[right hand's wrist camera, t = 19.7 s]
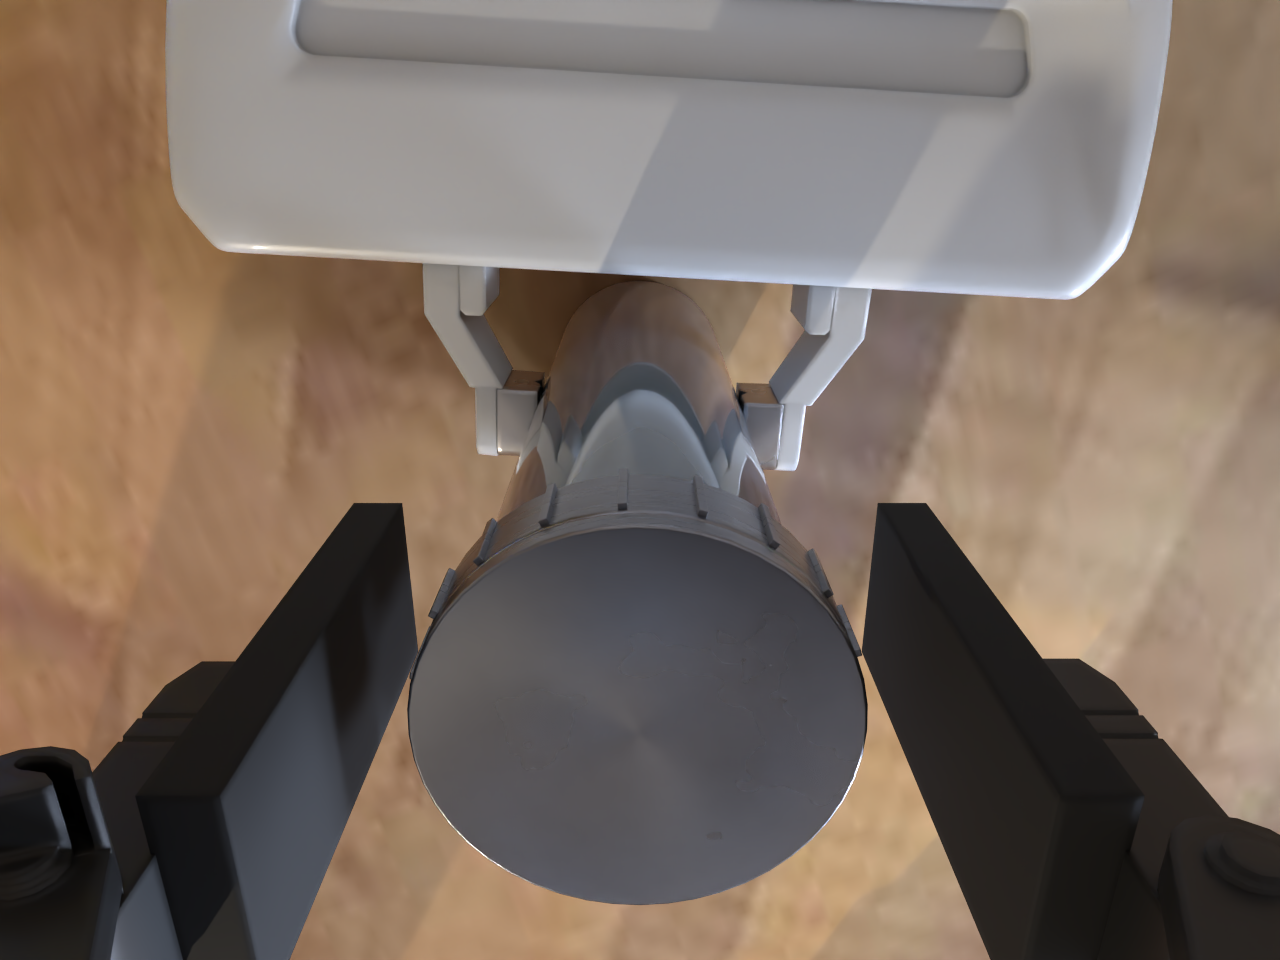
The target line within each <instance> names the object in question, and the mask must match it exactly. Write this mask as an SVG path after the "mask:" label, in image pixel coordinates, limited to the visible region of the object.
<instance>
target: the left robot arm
mask: <svg viewBox="0 0 1280 960" xmlns="http://www.w3.org/2000/svg"><path fill="white" fill-rule="evenodd" d="M1172 2H1173V0H167V3H166V40H165V64H166V109H167V131H168V145H169V159H170V170H171V179H172V186H173V190H174V194H175V197H176V200H177V202H178V204H179V205H180V207H181V208H182V209H183V211H184V212H185V213H186V214H187V216H188V217H189V218H190V219H191V220H192V222H193V223H194V224H195V225H196V226H197V228H198V229H199V230H200V231H201V232H202V234H203V235H204V236H205V237H206V238H207V239H208V240H209V241H210V242H211V243H212V245H213V246H215V247H216V248H218V249H220V250H222V251H227V252H238V253H254V254H271V255H289V256H306V257H324V258H341V259H359V260H376V261H394V262H412V263H423V289H424V314H425V316H426V317H427V319H428V320H429V322H430V324H431V325H432V327H433V328H434V330H435V332H436V333H437V335H438V337H439V338H440V340H441V341H442V343H443V345H444V346H445V348H446V349H447V351H448V353H449V354H450V356H451V358H452V359H453V361H454V362H455V364H456V366H457V367H458V369H459V370H460V372H461V374H462V375H463V377H464V378H465V380H466V382H467V383H468V385H469V387H474V388H475V405H476V447H477V451H478V454H485V455H495V456H498V455H515V456H520V453H521V450H522V448H523V445H524V442H525V439H526V436H527V434H528V431H529V428H530V425H531V423H532V420H533V417H534V414H535V411H536V409H537V406H538V403H539V400H540V398H541V395H542V392H543V389H544V387H545V372H533V371H520V370H512V369H513V368H512V366H511V364H510V362H509V360H508V359H507V357H506V355H505V353H504V351H503V349H502V348H501V346H500V344H499V342H498V340H497V338H496V337H495V335H494V333H493V331H492V329H491V327H490V326H489V324H488V322H487V320H486V318H485V316H484V314H483V313H484V312H485V311H486V310H487V309H488V308H489V306H490V305H491V304H492V303H493V302H494V300H495V299H496V298H497V297H498V296H499V270H500V268H517V269H534V270H552V271H569V272H587V273H604V274H622V275H640V276H657V277H675V278H692V279H710V280H727V281H745V282H762V283H780V284H793V291H792V301H791V312H792V314H793V315H794V316H795V317H796V319H797V320H798V321H799V323H800V324H801V325H802V327H803V328H804V329H805V331H804V332H803V334H802V335H801V337H800V338H799V339H798V341H797V342H796V344H795V345H794V347H793V348H792V349H791V351H790V352H789V354H788V355H787V357H786V358H785V359H784V361H783V362H782V364H781V365H780V367H779V368H778V369H777V371H776V372H775V374H774V375H773V377H772V378H771V379H770V381H769V384H755V383H737V387H736V396H737V398H738V401H739V404H740V407H741V410H742V413H743V416H744V419H745V421H746V424H747V427H748V430H749V433H750V436H751V439H752V441H753V444H754V447H755V450H756V453H757V456H758V459H759V461H760V464H761V467H762V469H767V470H786V471H794V470H795V469H796V467H797V464H798V461H799V454H800V446H801V438H802V431H803V423H804V416H805V408H806V406H811V405H812V404H813V403H814V401H815V400H816V399H817V398H818V396H819V395H820V394H821V393H822V391H823V390H824V389H825V388H826V386H827V385H828V384H829V383H830V381H831V380H832V379H833V377H834V376H835V375H836V374H837V372H838V371H839V370H840V369H841V367H842V366H843V365H844V364H845V362H846V361H847V360H848V359H849V357H850V356H851V355H852V354H853V352H854V351H855V350H856V348H857V347H858V346H859V345H860V343H861V342H862V341H863V340H864V336H865V330H866V323H867V317H868V311H869V304H870V298H871V292H872V289H885V290H903V291H920V292H938V293H955V294H973V295H990V296H1008V297H1025V298H1043V299H1062V300H1068V299H1073V298H1076V297H1078V296H1080V295H1081V294H1083V293H1084V292H1085V291H1086V290H1087V289H1088V288H1090V287H1091V286H1092V285H1093V284H1094V283H1095V282H1096V281H1097V280H1098V279H1099V278H1100V277H1101V276H1102V275H1103V274H1104V273H1105V272H1106V271H1107V270H1108V269H1109V268H1110V267H1111V266H1112V265H1113V264H1114V263H1115V262H1116V261H1117V260H1118V259H1119V258H1120V257H1121V255H1122V254H1123V252H1124V251H1125V249H1126V247H1127V244H1128V242H1129V239H1130V237H1131V234H1132V231H1133V227H1134V224H1135V221H1136V217H1137V213H1138V209H1139V205H1140V201H1141V197H1142V193H1143V189H1144V184H1145V180H1146V176H1147V171H1148V167H1149V162H1150V157H1151V152H1152V147H1153V142H1154V137H1155V132H1156V127H1157V121H1158V115H1159V109H1160V103H1161V97H1162V91H1163V84H1164V77H1165V70H1166V63H1167V56H1168V48H1169V40H1170V31H1171V22H1172Z"/></svg>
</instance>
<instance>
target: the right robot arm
mask: <svg viewBox="0 0 1280 960" xmlns="http://www.w3.org/2000/svg"><path fill="white" fill-rule="evenodd" d="M417 653H418V645H417V636H416V627H415V618H414V609H413V599H412V590H411V581H410V572H409V562H408V553H407V544H406V535H405V526H404V516H403V507H402V503H354V504H353V505H352V506H351V508H350V509H349V510H348V512H347V513H346V514H345V516H344V517H343V519H342V520H341V521H340V523H339V524H338V525H337V527H336V528H335V529H334V531H333V532H332V533H331V535H330V536H329V537H328V539H327V540H326V541H325V543H324V544H323V545H322V547H321V548H320V549H319V551H318V552H317V553H316V555H315V556H314V557H313V559H312V560H311V561H310V563H309V564H308V565H307V567H306V568H305V569H304V571H303V572H302V573H301V575H300V576H299V577H298V579H297V580H296V581H295V583H294V584H293V585H292V587H291V588H290V589H289V591H288V592H287V593H286V595H285V596H284V597H283V599H282V600H281V601H280V603H279V604H278V605H277V607H276V608H275V609H274V611H273V612H272V613H271V615H270V616H269V617H268V619H267V620H266V621H265V623H264V624H263V625H262V627H261V628H260V630H259V631H258V632H257V634H256V635H255V636H254V638H253V639H252V640H251V642H250V643H249V644H248V646H247V647H246V648H245V650H244V651H243V652H242V654H241V655H240V656H239V658H238V659H237V660H236V662H200V663H199V664H197V665H196V666H194V667H193V668H191V669H190V670H188V671H187V672H185V673H184V674H182V675H181V676H179V677H178V678H176V679H174V680H173V681H171V682H170V683H168V684H167V685H165V687H164V688H163V689H162V690H161V691H160V693H159V694H158V695H157V696H156V697H155V699H154V700H153V701H152V702H151V703H150V705H149V706H148V707H147V708H146V709H145V710H144V712H143V713H142V714H143V716H142V718H138V719H137V720H136V721H135V722H134V724H133V725H132V726H131V727H130V728H129V730H128V731H127V732H126V733H125V734H124V735H123V741H122V742H118V743H117V744H116V745H115V746H114V747H113V749H112V750H111V751H110V752H109V753H108V755H107V756H106V757H105V758H104V759H103V760H102V762H101V763H100V764H99V765H98V766H97V768H96V769H95V770H94V771H93V772H92V771H91V768H90V764H89V761H88V760H87V759H86V758H85V757H83V756H82V755H80V754H79V753H78V752H76V751H75V750H71V749H65V748H58V747H52V746H50V747H41V748H31V749H22V750H18V751H15V752H11V753H8V754H5V755H1V756H0V960H289V959H290V957H291V955H292V952H293V950H294V947H295V945H296V943H297V940H298V938H299V935H300V933H301V931H302V928H303V926H304V923H305V921H306V919H307V916H308V914H309V911H310V909H311V907H312V904H313V902H314V900H315V897H316V895H317V892H318V890H319V888H320V885H321V883H322V880H323V878H324V876H325V873H326V871H327V868H328V866H329V864H330V861H331V859H332V856H333V854H334V852H335V849H336V847H337V844H338V842H339V840H340V837H341V835H342V833H343V830H344V828H345V825H346V823H347V821H348V818H349V816H350V813H351V811H352V809H353V806H354V804H355V801H356V799H357V797H358V794H359V792H360V789H361V787H362V785H363V782H364V780H365V777H366V775H367V773H368V770H369V768H370V766H371V763H372V761H373V758H374V756H375V754H376V751H377V749H378V746H379V744H380V742H381V739H382V737H383V734H384V732H385V730H386V727H387V725H388V722H389V720H390V718H391V715H392V713H393V710H394V708H395V706H396V703H397V701H398V699H399V696H400V694H401V691H402V689H403V687H404V684H405V682H406V679H407V677H408V675H409V672H410V670H411V667H412V665H413V663H414V660H415V658H416V655H417ZM862 653H863V655H864V658H865V660H866V663H867V665H868V667H869V670H870V672H871V675H872V677H873V679H874V682H875V684H876V687H877V689H878V691H879V694H880V696H881V699H882V701H883V703H884V706H885V708H886V710H887V713H888V715H889V718H890V720H891V722H892V725H893V727H894V730H895V732H896V734H897V737H898V739H899V742H900V744H901V746H902V749H903V751H904V754H905V756H906V758H907V761H908V763H909V766H910V768H911V770H912V773H913V775H914V777H915V780H916V782H917V785H918V787H919V789H920V792H921V794H922V797H923V799H924V801H925V804H926V806H927V809H928V811H929V813H930V816H931V818H932V821H933V823H934V825H935V828H936V830H937V833H938V835H939V837H940V840H941V842H942V844H943V847H944V849H945V852H946V854H947V856H948V859H949V861H950V864H951V866H952V868H953V871H954V873H955V876H956V878H957V880H958V883H959V885H960V888H961V890H962V892H963V895H964V897H965V900H966V902H967V904H968V907H969V909H970V911H971V914H972V916H973V919H974V921H975V923H976V926H977V928H978V931H979V933H980V935H981V938H982V940H983V943H984V945H985V947H986V950H987V952H988V955H989V957H990V959H991V960H1280V835H1279V834H1277V833H1275V832H1274V831H1272V830H1270V829H1267V828H1264V827H1261V826H1258V825H1255V824H1252V823H1249V822H1247V821H1244V820H1241V819H1238V818H1230V817H1228V815H1227V814H1226V813H1225V812H1224V811H1223V810H1222V808H1221V807H1220V806H1219V805H1218V804H1217V802H1216V801H1215V800H1214V799H1213V798H1212V797H1211V795H1210V794H1209V793H1208V792H1207V791H1206V789H1205V788H1204V787H1203V786H1202V785H1201V784H1200V782H1199V781H1198V780H1197V779H1196V778H1195V776H1194V775H1193V774H1192V773H1191V772H1190V771H1189V769H1188V768H1187V767H1186V766H1185V765H1184V763H1183V762H1182V761H1181V760H1180V759H1179V758H1178V756H1177V755H1176V754H1175V753H1174V752H1173V750H1172V749H1171V748H1170V747H1169V746H1168V745H1167V743H1166V742H1165V741H1164V740H1163V739H1159V738H1158V733H1157V732H1156V730H1155V729H1154V728H1153V727H1152V726H1151V724H1150V723H1149V722H1148V721H1147V720H1146V719H1145V717H1144V716H1143V715H1139V714H1138V709H1137V708H1136V707H1135V706H1134V704H1133V703H1132V702H1131V701H1130V700H1129V698H1128V697H1127V696H1126V695H1125V694H1124V692H1123V691H1122V690H1121V689H1120V688H1119V687H1118V685H1117V684H1116V683H1115V682H1114V681H1112V680H1111V679H1109V678H1107V677H1106V676H1104V675H1103V674H1101V673H1100V672H1098V671H1097V670H1095V669H1094V668H1092V667H1091V666H1089V665H1088V664H1086V663H1084V662H1083V661H1081V660H1080V659H1042V658H1041V656H1040V655H1039V654H1038V652H1037V651H1036V650H1035V648H1034V647H1033V646H1032V644H1031V643H1030V642H1029V640H1028V639H1027V638H1026V636H1025V635H1024V634H1023V632H1022V631H1021V630H1020V628H1019V627H1018V625H1017V624H1016V623H1015V621H1014V620H1013V619H1012V617H1011V616H1010V615H1009V613H1008V612H1007V611H1006V609H1005V608H1004V607H1003V605H1002V604H1001V603H1000V601H999V600H998V599H997V597H996V596H995V595H994V593H993V592H992V591H991V589H990V588H989V587H988V585H987V584H986V583H985V581H984V580H983V579H982V577H981V576H980V575H979V573H978V572H977V571H976V569H975V568H974V567H973V565H972V564H971V563H970V561H969V560H968V559H967V557H966V556H965V555H964V553H963V552H962V551H961V549H960V548H959V547H958V545H957V544H956V543H955V541H954V540H953V539H952V537H951V536H950V535H949V533H948V532H947V531H946V529H945V528H944V527H943V525H942V524H941V523H940V521H939V520H938V519H937V517H936V516H935V514H934V513H933V512H932V510H931V509H930V508H929V506H928V505H927V504H926V503H878V507H877V516H876V526H875V535H874V544H873V553H872V562H871V572H870V581H869V590H868V599H867V609H866V618H865V627H864V636H863V645H862Z"/></svg>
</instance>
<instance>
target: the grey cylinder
mask: <svg viewBox="0 0 1280 960" xmlns="http://www.w3.org/2000/svg"><path fill="white" fill-rule="evenodd" d="M626 468H627V469H628V474H646V475H665V476H670V477H676V478H682V479H688V480H693V478H694V475H697V476H701V477H702V478H703V483H704V484H706V485H709V486H713V487H716V488H719V489H722V490H724V491H726V492H728V493H731V494H733V495H735V496H737V497H739V498H742V499H744V500H746V501H748V502H749V503H751V504H752V505H754V506H756V507H757V508H758V507H759V506H760V505H761V503H763V504H764V505H766V506H768V508H769V511H770V514H771V517H772V518H774V519H775V520H776V521H777V522H778V523H780V524H781V522H780V519H779V516H778V513H777V510H776V507H775V504H774V502H773V499H772V496H771V493H770V490H769V487H768V484H767V481H766V479H765V476H764V473H763V470H762V467H761V464H760V461H759V459H758V456H757V453H756V450H755V447H754V444H753V441H752V439H751V436H750V433H749V430H748V427H747V424H746V421H745V419H744V416H743V413H742V410H741V407H740V404H739V401H738V398H737V396H736V393H735V390H734V387H733V384H732V381H731V378H730V376H729V373H728V370H727V367H726V364H725V361H724V358H723V356H722V353H721V350H720V347H719V344H718V341H717V338H716V336H715V333H714V330H713V328H712V326H711V324H710V322H709V320H708V318H707V317H706V315H705V314H704V312H703V311H702V310H701V309H700V308H699V306H698V305H697V304H696V303H695V302H694V301H692V300H691V299H690V298H689V297H688V296H686V295H685V294H683V293H682V292H680V291H678V290H676V289H674V288H672V287H670V286H667V285H664V284H661V283H657V282H651V281H627V282H622V283H618V284H614V285H612V286H609V287H606V288H604V289H602V290H600V291H599V292H597V293H595V294H594V295H592V296H591V297H590V298H588V299H587V300H586V301H585V302H584V303H583V304H582V305H581V306H580V307H579V308H578V309H577V311H576V312H575V313H574V314H573V316H572V318H571V319H570V321H569V322H568V324H567V327H566V329H565V331H564V334H563V337H562V339H561V342H560V345H559V348H558V350H557V353H556V356H555V359H554V362H553V364H552V367H551V370H550V373H549V375H548V378H547V381H546V384H545V387H544V389H543V392H542V395H541V398H540V400H539V403H538V406H537V409H536V411H535V414H534V417H533V420H532V423H531V425H530V428H529V431H528V434H527V436H526V439H525V442H524V445H523V448H522V450H521V453H520V456H519V459H518V461H517V464H516V467H515V470H514V473H513V475H512V478H511V481H510V484H509V486H508V489H507V492H506V495H505V498H504V500H503V503H502V506H501V509H500V511H499V514H498V517H497V520H496V522H498V521H499V520H500V519H502V518H503V517H504V516H506V515H507V514H509V513H510V512H512V511H513V510H515V509H517V508H518V507H520V506H521V505H523V504H524V503H526V502H528V501H530V500H532V499H534V498H536V497H538V496H540V495H542V494H545V492H546V489H547V486H548V485H550V484H553V483H555V485H556V487H557V488H560V487H563V486H566V485H569V484H572V483H575V482H578V481H584V480H589V479H594V478H599V477H604V476H614V475H619V470H620V469H626ZM781 525H782V524H781Z"/></svg>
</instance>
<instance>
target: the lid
mask: <svg viewBox="0 0 1280 960" xmlns="http://www.w3.org/2000/svg"><path fill="white" fill-rule="evenodd" d="M428 616H429V617H431V618H433V622H432V624H431V626H430V627H429V628H428V631H427V633H426V636H425V638H424V640H423V643H422V645H421V648H420V650H419V652H418V655H417V657H416V660H415V662H414V664H413V667H412V669H411V672H410V679H411V683H410V689H409V699H408V708H407V711H408V730H409V738H410V743H411V747H412V752H413V757H414V760H415V763H416V766H417V768H418V771H419V774H420V776H421V779H422V782H423V784H424V786H425V787H426V789H427V791H428V793H429V795H430V796H431V798H432V800H433V802H434V804H435V805H436V807H437V808H438V809H439V811H440V812H441V813H442V815H443V816H444V817H445V819H446V820H447V821H448V823H449V824H450V825H451V826H452V827H453V828H454V829H455V830H456V831H457V832H458V833H459V834H460V835H461V836H462V838H463V839H464V840H465V841H466V842H467V843H468V844H470V845H471V846H472V847H473V848H475V849H476V850H477V851H478V852H480V853H481V854H482V855H483V856H485V857H486V858H487V859H489V860H490V861H492V862H493V863H495V864H497V865H498V866H500V867H501V868H503V869H505V870H506V871H508V872H509V873H511V874H513V875H515V876H517V877H519V878H522V879H524V880H526V881H528V882H530V883H532V884H534V885H537V886H539V887H542V888H545V889H548V890H551V891H554V892H556V893H559V894H563V895H567V896H571V897H575V898H579V899H584V900H589V901H596V902H603V903H610V904H629V905H649V904H666V903H673V902H680V901H686V900H692V899H697V898H701V897H705V896H708V895H712V894H716V893H720V892H723V891H725V890H728V889H731V888H733V887H736V886H739V885H741V884H744V883H746V882H748V881H750V880H752V879H754V878H756V877H758V876H760V875H762V874H764V873H766V872H768V871H770V870H771V869H773V868H774V867H776V866H778V865H779V864H781V863H782V862H784V861H785V860H787V859H788V858H790V857H791V856H792V855H794V854H795V853H796V852H797V851H798V850H800V849H801V848H802V847H803V846H804V845H806V844H807V843H808V842H809V841H810V840H811V839H812V838H813V837H814V836H815V835H816V834H817V833H818V832H819V831H820V830H821V829H822V828H823V827H824V825H825V824H826V823H827V822H828V821H829V820H830V818H831V817H832V815H833V814H834V813H835V811H836V810H837V808H838V807H839V806H840V804H841V803H842V801H843V800H844V798H845V796H846V794H847V792H848V790H849V788H850V786H851V784H852V782H853V780H854V778H855V775H856V772H857V769H858V766H859V764H860V761H861V758H862V755H863V750H864V744H865V738H866V733H867V709H868V704H867V697H866V690H865V683H864V678H863V674H862V671H861V668H860V665H859V661H858V658H857V657H859V656H862V653H861V649H860V647H859V644H858V642H857V640H856V637H855V635H854V632H853V630H852V628H851V625H850V623H849V620H848V618H847V616H846V613H845V611H844V608H843V606H842V605H838V606H837V605H836V603H835V600H834V598H833V592H832V589H831V587H830V585H829V582H828V580H827V577H826V575H825V572H824V570H823V567H822V565H821V562H820V560H819V558H818V555H817V553H816V552H815V550H814V549H811V550H809V551H808V552H807V550H806V549H805V548H804V547H803V546H802V545H801V544H800V543H799V541H798V540H797V539H796V538H795V537H794V536H793V535H792V534H791V533H790V532H789V531H788V530H787V529H786V528H785V527H783V526H782V525H781V524H780V523H778V522H777V521H776V520H775V519H774V518H772V517H771V514H770V511H769V508H768V506H766V505H764V504H763V503H761V505H760V506H759V507H758V508H757V507H756V506H754V505H752V504H751V503H749V502H748V501H746V500H744V499H742V498H739V497H737V496H735V495H733V494H731V493H728V492H726V491H724V490H722V489H719V488H716V487H713V486H709V485H706V484H704V483H703V478H702V477H701V476H697V475H694V478H693V480H688V479H682V478H676V477H670V476H665V475H646V474H628V469H627V468H626V469H620V470H619V475H614V476H604V477H599V478H594V479H589V480H584V481H578V482H575V483H572V484H569V485H566V486H563V487H560V488H557V487H556V485H555V483H553V484H550V485H548V486H547V489H546V492H545V494H542V495H540V496H538V497H536V498H534V499H532V500H530V501H528V502H526V503H524V504H523V505H521V506H520V507H518V508H517V509H515V510H513V511H512V512H510V513H509V514H507V515H506V516H504V517H503V518H502V519H500V520H499V521H498V522H496V521H495V520H494V519H493V518H492V519H491V520H489V521H488V522H487V524H486V527H485V529H484V532H483V535H482V536H481V537H480V539H479V540H478V541H477V542H476V543H475V544H474V545H473V547H472V548H471V549H470V550H469V551H468V552H467V553H466V555H465V556H464V558H463V560H462V561H461V563H460V564H459V566H458V567H457V569H456V570H455V571H454V570H452V569H450V568H449V570H448V571H447V573H446V575H445V578H444V580H443V582H442V585H441V587H440V589H439V592H438V594H437V596H436V599H435V601H434V603H433V606H432V608H431V610H430V613H429V615H428Z"/></svg>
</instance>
